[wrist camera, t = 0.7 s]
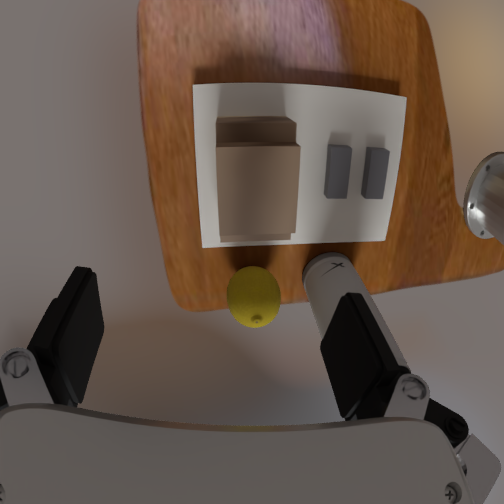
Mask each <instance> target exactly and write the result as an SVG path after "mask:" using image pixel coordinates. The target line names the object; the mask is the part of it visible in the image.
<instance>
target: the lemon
mask: <svg viewBox="0 0 504 504" xmlns="http://www.w3.org/2000/svg"><path fill="white" fill-rule="evenodd" d="M280 301H281V297H280V289H279V286H278V283H277V281H276V279H275V278H274V276H273V275H272V274H271V273H270V272H269V271H267V270H266V269H264V268H261V267H257V266H248V267H244V268H242V269H240V270H239V271H237V272H236V273H235V274H234V275H233V277H232V278H231V279H230V281H229V284H228V287H227V303H228V306H229V309H230V312H231V313H232V315H233V316H234V318H235V319H236V320H237V321H238V322H239V323H241V324H243V325H245V326H248V327H255V328H256V327H262V326H264V325H266V324H268V323H270V322H271V321H272V320H273V319H274V318H275V316H276V315H277V313H278V310H279V307H280Z"/></svg>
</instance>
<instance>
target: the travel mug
mask: <svg viewBox="0 0 504 504" xmlns="http://www.w3.org/2000/svg"><path fill="white" fill-rule="evenodd" d="M302 281H303V285H304V288H305V291H306V294H307V297H308V299H309V302H310V305H311V308H312V311H313V314H314V317H315V320H316V323H317V326H318V329H319V332H320V335H321V338H322V339H323V337H324V335H325V333H326V330H327V328H328V326H329V323H330V321H331V319H332V317H333V314H334V312H335V310H336V307H337V305H338V302H339V300H340V298H341V296H344V295H345V294H346V293H347V292H351V293H361V294H362V295H363V297H364V299H365V301H366V303H367V305H368V306H369V308H370V310H371V312H372V314H373V316H374V318H375V319H376V321H377V323H378V325H379V327H380V329H381V331H382V333H383V335H384V337H385V339H386V341H387V343H388V345H389V347H390V348H391V350H392V352H393V354H394V356H395V358H396V361H397V363H398V365H399V367H400V369H401V370H400V372H401V374H402V375H404V374H411V371H410V368H409V367H408V365H407V362H406V361H405V359H404V357H403V355H402V353H401V351H400V349H399V347H398V345H397V343H396V341H395V339H394V337H393V336H392V334H391V332H390V330H389V328H388V326H387V325H386V323H385V321H384V319H383V317H382V315H381V313H380V312H379V310H378V308H377V306H376V305H375V303H374V301H373V299H372V297H371V296H370V294H369V292H368V290H367V289H366V287H365V285H364V283H363V282H362V280H361V278H360V277H359V275H358V273H357V272H356V270H355V268H354V267H353V265H352V263H351V262H350V260H349V259H348V258H347V257H346V256H345V255H343V254H341V253H337V252H329V253H324V254H321V255H319V256H317V257H315V258H314V259H312V260H311V261H310V262H309V263H308V265H307V266H306V267H305V269H304V271H303V275H302Z"/></svg>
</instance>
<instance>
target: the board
mask: <svg viewBox="0 0 504 504" xmlns="http://www.w3.org/2000/svg"><path fill="white" fill-rule="evenodd" d="M406 99H407V97H402V96H397V95H391V94H385V93H379V92H372V91H365V90H358V89H350V88H341V87H332V86H320V85H307V84H289V83H214V84H196V85H193V108H194V132H195V151H196V169H197V184H198V199H199V212H200V225H201V237H202V248H208V247H232V246H257V245H282V244H308V243H335V242H363V241H385V238H386V233H387V229H388V224H389V219H390V214H391V209H392V203H393V198H394V192H395V187H396V181H397V174H398V168H399V161H400V154H401V147H402V139H403V130H404V121H405V111H406ZM223 116H287V117H288V118H290V119H291V120H293V121H294V122H296V123H297V130H296V143H298V144H299V145H300V146H301V152H300V171H299V188H298V204H297V219H296V232H295V233H291V240H273V241H247V242H223V243H220V236H219V218H218V197H217V174H216V119H217V117H223ZM328 144H333V145H348V146H350V147H351V148H352V157H351V166H350V175H349V184H348V192H347V199H327V198H326V197H325V195H324V184H325V173H326V161H327V147H328ZM366 147H377V148H385V149H387V150H389V151H390V155H389V162H388V169H387V176H386V183H385V189H384V195H383V199H365V198H364V197H363V196H362V195H361V189H362V181H363V173H364V165H365V157H366Z"/></svg>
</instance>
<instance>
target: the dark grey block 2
mask: <svg viewBox="0 0 504 504" xmlns="http://www.w3.org/2000/svg"><path fill="white" fill-rule="evenodd" d="M389 155H390V151H389V150H387V149H385V148H377V147H366V157H365V165H364V173H363V181H362V189H361V195H362V196H363V197H364V198H365V199H383V195H384V189H385V183H386V176H387V169H388V162H389Z"/></svg>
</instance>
